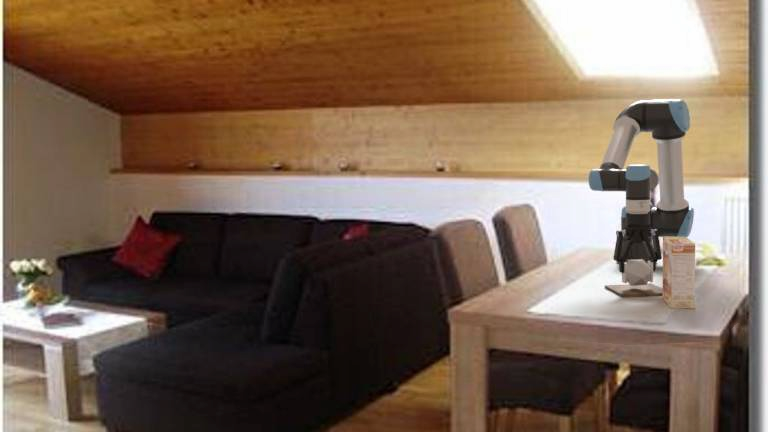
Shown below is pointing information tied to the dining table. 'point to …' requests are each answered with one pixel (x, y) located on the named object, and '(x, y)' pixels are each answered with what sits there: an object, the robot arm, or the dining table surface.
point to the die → (638, 272)
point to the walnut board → (635, 290)
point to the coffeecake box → (678, 272)
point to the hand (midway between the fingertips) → (637, 281)
